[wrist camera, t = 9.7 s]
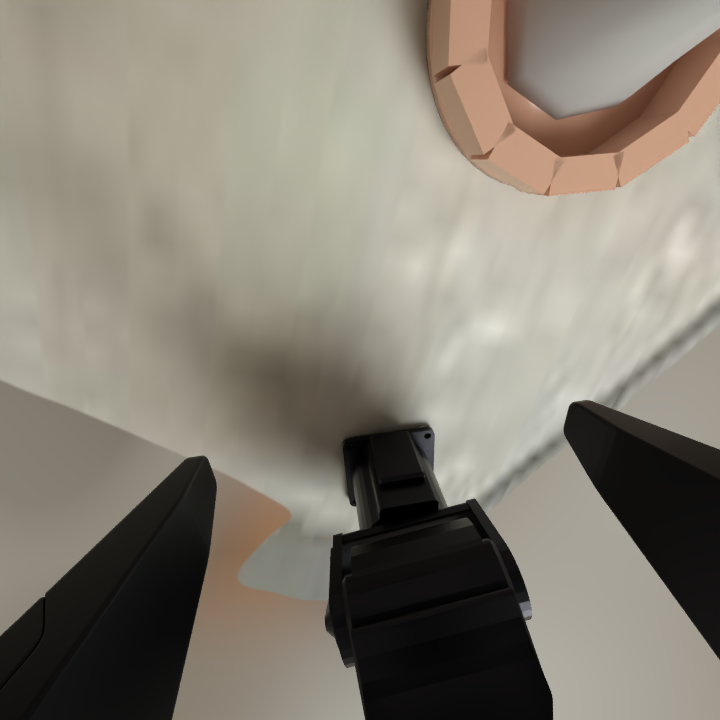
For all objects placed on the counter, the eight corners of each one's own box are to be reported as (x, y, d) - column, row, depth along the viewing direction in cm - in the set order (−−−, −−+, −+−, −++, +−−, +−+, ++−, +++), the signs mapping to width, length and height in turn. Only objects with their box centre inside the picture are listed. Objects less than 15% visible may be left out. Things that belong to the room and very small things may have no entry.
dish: (658, 177, 20) (712, 179, 17) (424, 199, 19) (443, 206, 16) (773, -217, 13) (886, -309, 11) (428, -217, 12) (461, -317, 10)
